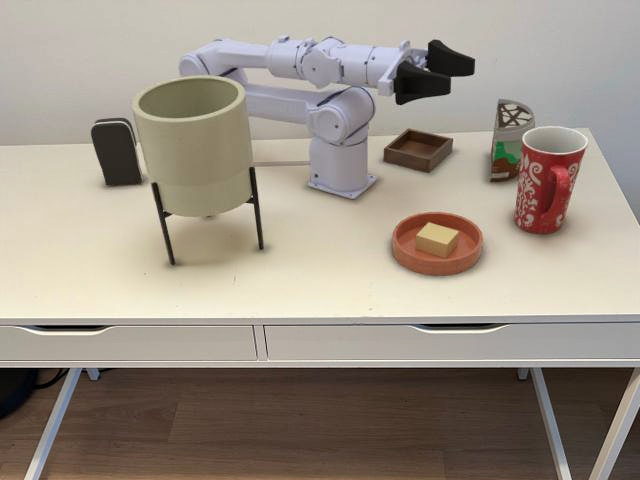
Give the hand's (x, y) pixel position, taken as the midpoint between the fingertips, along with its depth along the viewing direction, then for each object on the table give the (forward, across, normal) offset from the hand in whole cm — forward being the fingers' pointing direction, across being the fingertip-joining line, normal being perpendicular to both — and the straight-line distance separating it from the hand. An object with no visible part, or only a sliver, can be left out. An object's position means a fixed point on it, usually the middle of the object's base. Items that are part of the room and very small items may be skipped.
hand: (462, 76), depth 91 cm
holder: (-15, +15, +21) cm, 29 cm away
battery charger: (-56, -18, +18) cm, 62 cm away
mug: (+12, +3, +23) cm, 26 cm away
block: (+1, -10, +22) cm, 24 cm away
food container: (+1, +18, +22) cm, 29 cm away
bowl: (+1, -10, +22) cm, 24 cm away
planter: (-30, -25, +20) cm, 43 cm away
